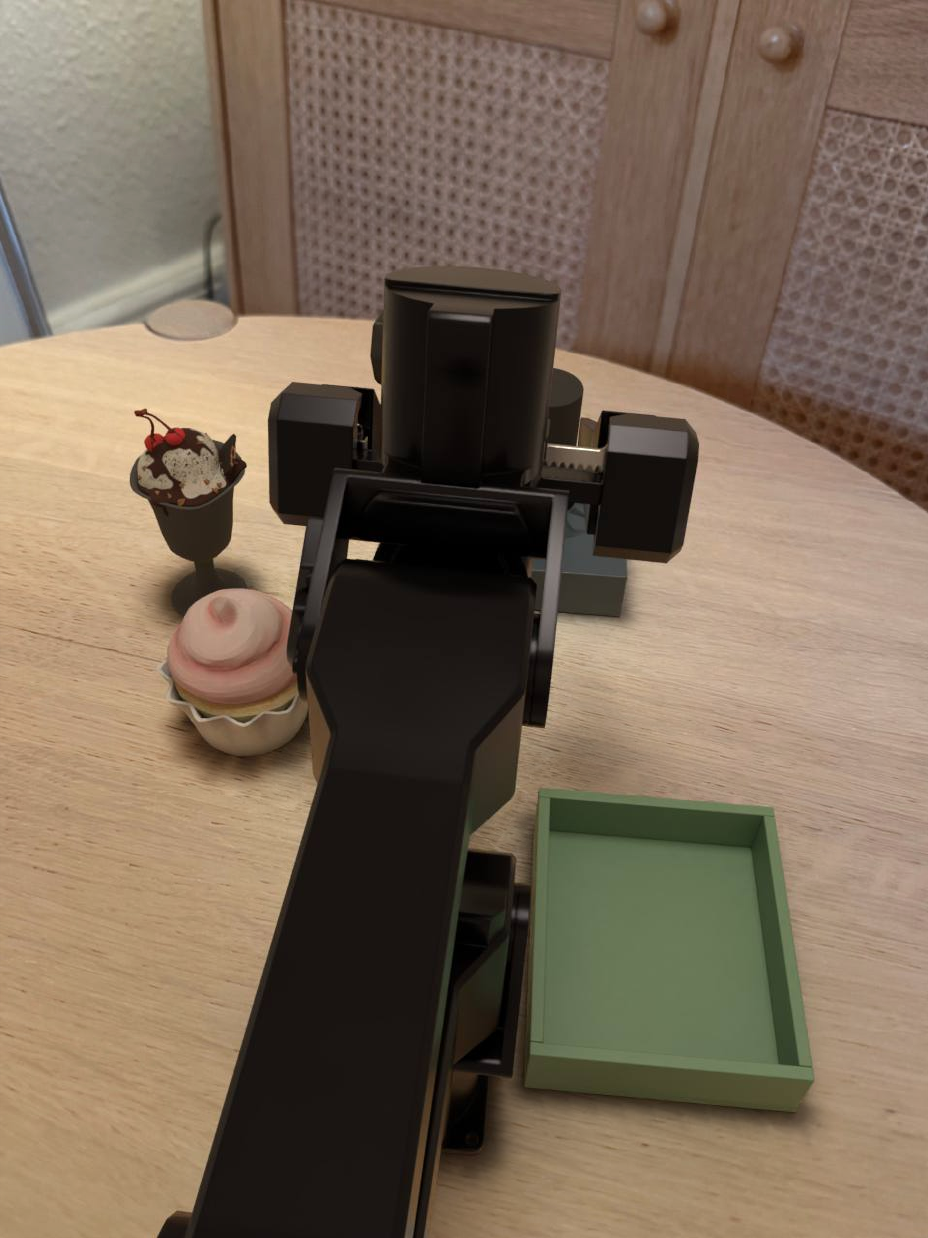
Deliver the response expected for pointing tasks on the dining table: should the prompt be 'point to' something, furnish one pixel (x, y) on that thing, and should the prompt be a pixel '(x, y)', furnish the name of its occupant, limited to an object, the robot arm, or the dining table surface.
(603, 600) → the drain plate
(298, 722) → the cupcake
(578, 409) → the dark brown cylinder
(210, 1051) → the dining table surface
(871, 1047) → the dining table surface
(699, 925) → the green tray
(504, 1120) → the dining table surface
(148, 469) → the sundae
